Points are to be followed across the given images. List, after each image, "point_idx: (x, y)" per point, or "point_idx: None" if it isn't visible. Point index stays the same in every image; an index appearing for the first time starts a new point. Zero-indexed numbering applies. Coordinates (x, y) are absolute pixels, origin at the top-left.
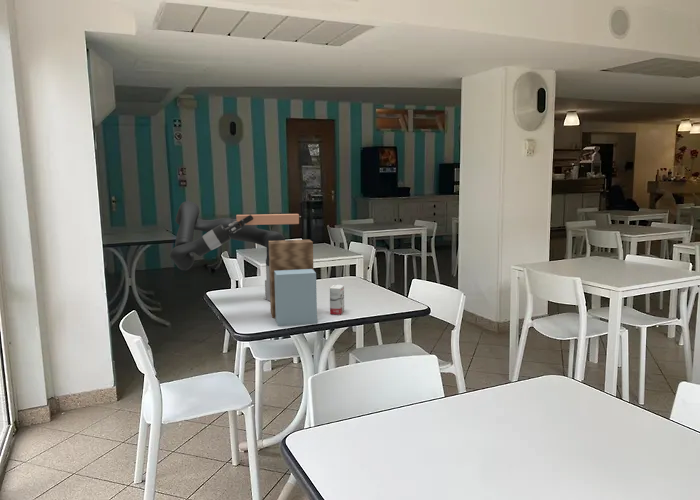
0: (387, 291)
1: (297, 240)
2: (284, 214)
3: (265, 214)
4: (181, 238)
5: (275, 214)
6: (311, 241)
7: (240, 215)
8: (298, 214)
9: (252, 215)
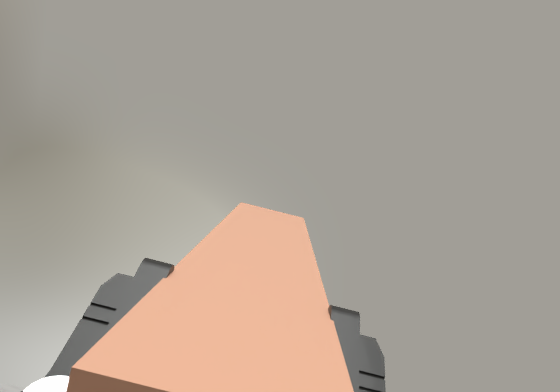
0: (15, 387)
1: None
2: (273, 222)
3: (218, 236)
4: None
5: (252, 228)
6: None
7: (345, 386)
8: (296, 216)
9: (326, 307)
